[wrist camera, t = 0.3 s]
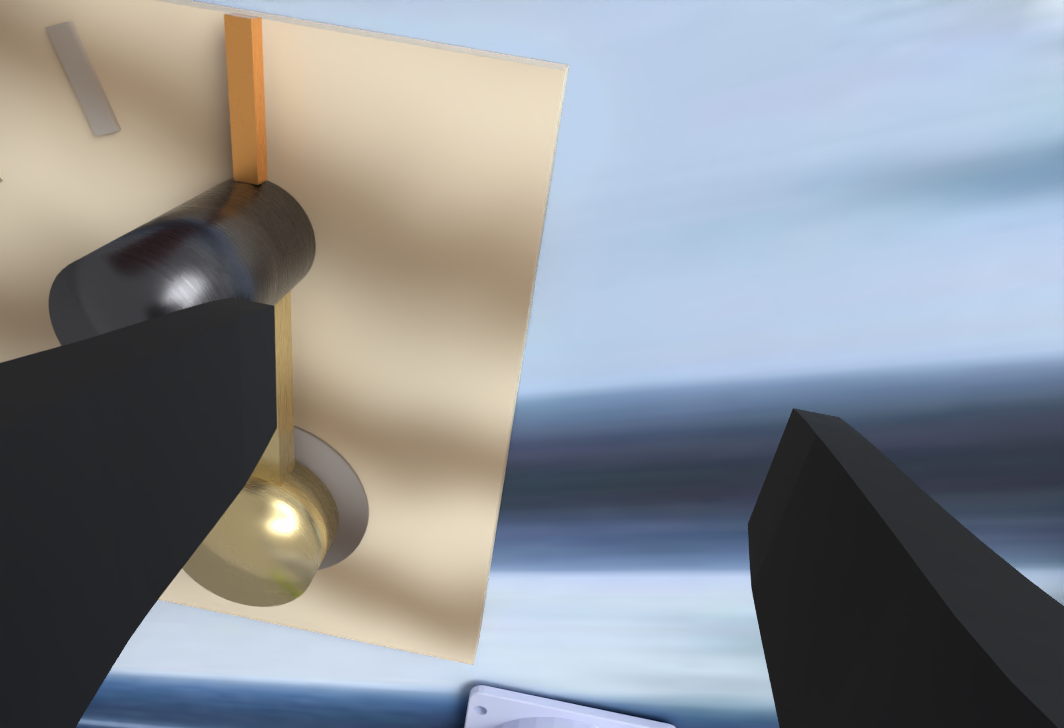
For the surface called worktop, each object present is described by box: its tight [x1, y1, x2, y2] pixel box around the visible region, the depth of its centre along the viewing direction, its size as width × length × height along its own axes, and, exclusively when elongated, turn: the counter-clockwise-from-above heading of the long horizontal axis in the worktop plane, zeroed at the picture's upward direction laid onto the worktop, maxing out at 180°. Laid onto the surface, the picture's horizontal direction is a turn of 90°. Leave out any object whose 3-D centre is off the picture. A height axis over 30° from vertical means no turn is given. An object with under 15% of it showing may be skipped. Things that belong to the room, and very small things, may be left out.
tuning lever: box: [49, 13, 339, 607], centre depth 18 cm, size 16×4×6 cm, turn 172°
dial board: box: [0, 0, 569, 665], centre depth 22 cm, size 20×21×1 cm
